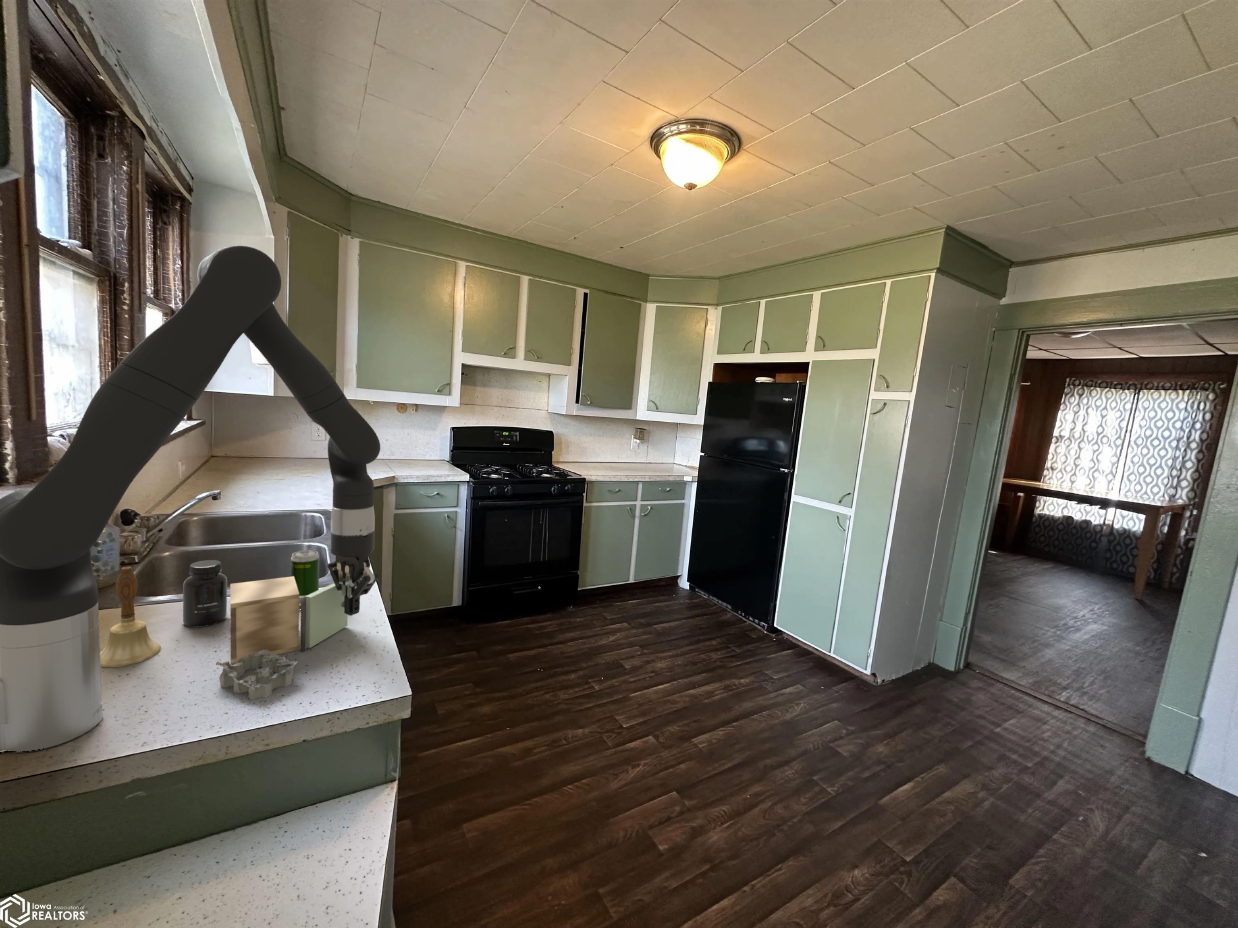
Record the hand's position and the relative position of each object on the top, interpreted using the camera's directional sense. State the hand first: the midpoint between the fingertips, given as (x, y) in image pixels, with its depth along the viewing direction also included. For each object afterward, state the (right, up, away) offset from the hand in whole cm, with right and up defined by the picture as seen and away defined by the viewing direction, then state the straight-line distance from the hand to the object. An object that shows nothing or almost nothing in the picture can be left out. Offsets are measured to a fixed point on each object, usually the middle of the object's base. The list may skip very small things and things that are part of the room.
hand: (351, 613), depth 98 cm
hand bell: (-33, -4, -12) cm, 35 cm away
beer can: (-18, -2, +13) cm, 22 cm away
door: (-5, -5, 0) cm, 6 cm away
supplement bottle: (-31, -2, +2) cm, 31 cm away
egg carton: (-7, -7, -16) cm, 19 cm away
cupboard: (-14, -4, -5) cm, 15 cm away
